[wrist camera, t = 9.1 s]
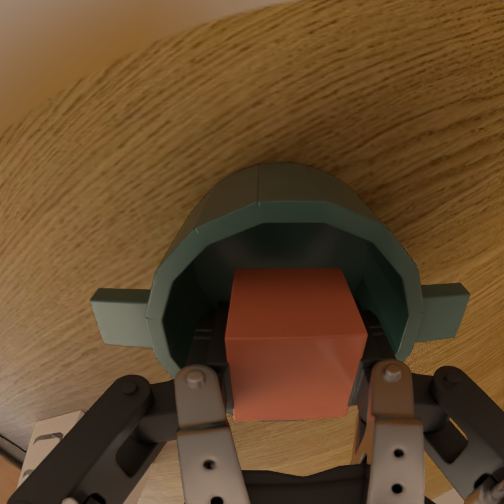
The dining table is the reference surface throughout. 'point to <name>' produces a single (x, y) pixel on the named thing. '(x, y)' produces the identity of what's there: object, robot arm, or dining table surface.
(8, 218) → the dining table surface
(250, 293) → the block
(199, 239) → the pot
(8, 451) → the planter
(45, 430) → the grater
